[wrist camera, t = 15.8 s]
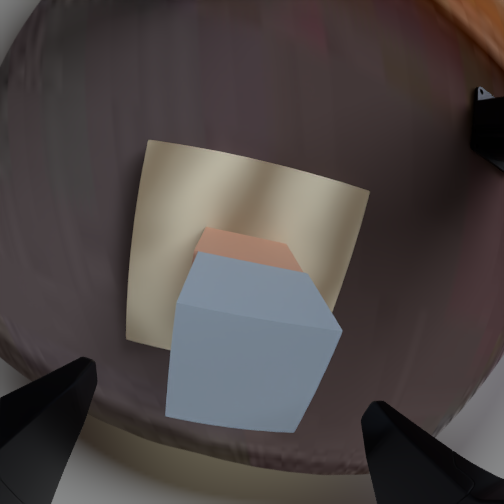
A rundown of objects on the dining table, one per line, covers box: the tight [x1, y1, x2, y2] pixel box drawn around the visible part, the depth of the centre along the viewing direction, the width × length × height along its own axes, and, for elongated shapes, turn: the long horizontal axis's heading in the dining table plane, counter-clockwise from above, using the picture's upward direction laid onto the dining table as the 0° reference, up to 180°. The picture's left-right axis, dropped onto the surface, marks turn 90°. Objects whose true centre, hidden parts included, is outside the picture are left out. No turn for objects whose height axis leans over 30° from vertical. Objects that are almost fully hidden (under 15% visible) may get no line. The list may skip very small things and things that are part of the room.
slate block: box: [165, 251, 342, 433], centre depth 11 cm, size 5×5×5 cm
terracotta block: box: [191, 227, 304, 273], centre depth 16 cm, size 5×5×5 cm
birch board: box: [126, 140, 370, 350], centre depth 19 cm, size 14×14×2 cm
